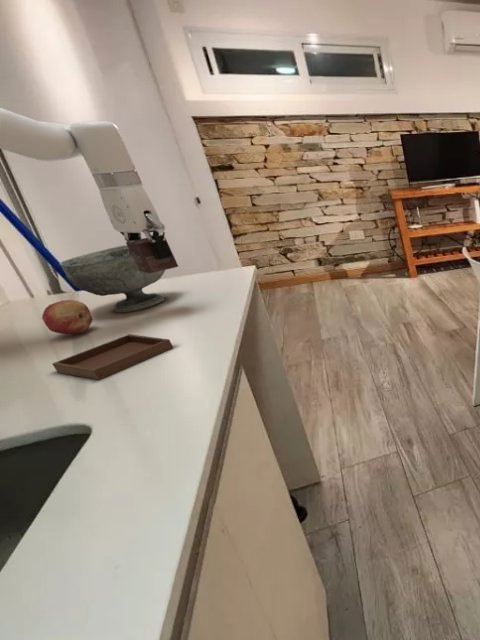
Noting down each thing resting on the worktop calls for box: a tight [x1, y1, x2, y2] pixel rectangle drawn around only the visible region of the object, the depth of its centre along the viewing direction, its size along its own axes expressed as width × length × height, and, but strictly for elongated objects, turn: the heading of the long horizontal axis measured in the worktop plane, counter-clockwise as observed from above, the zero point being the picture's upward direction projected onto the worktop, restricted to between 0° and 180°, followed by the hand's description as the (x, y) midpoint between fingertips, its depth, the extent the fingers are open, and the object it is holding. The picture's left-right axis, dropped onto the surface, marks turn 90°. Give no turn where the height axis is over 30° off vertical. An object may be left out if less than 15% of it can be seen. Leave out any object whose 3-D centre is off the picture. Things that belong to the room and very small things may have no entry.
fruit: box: [41, 299, 93, 336], centre depth 110 cm, size 8×8×8 cm
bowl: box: [59, 244, 166, 313], centre depth 123 cm, size 20×19×15 cm
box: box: [125, 237, 179, 273], centre depth 114 cm, size 6×6×7 cm
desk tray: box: [51, 333, 174, 381], centre depth 96 cm, size 13×13×2 cm
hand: (153, 256), depth 115 cm, fingers closed on box, 6 cm apart
